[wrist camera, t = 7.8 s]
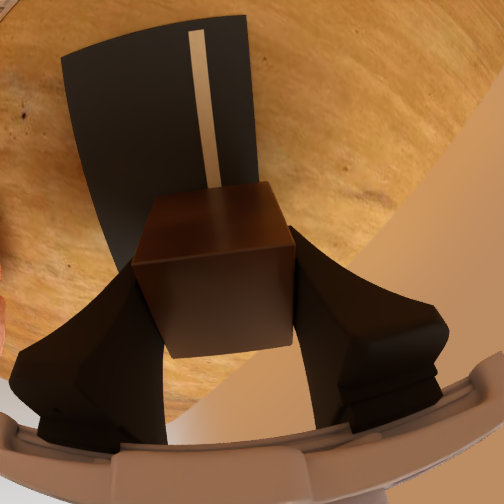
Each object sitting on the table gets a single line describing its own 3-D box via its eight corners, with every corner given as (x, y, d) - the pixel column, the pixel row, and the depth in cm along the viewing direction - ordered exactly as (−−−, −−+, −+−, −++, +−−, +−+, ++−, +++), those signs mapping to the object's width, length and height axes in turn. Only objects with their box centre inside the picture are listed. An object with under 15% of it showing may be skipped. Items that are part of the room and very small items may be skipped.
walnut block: (268, 180, 11) (296, 243, 8) (272, 270, 14) (292, 345, 10) (155, 195, 11) (129, 264, 7) (179, 281, 14) (171, 359, 10)
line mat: (62, 57, 8) (60, 57, 8) (245, 15, 9) (246, 14, 9) (121, 275, 15) (120, 278, 15) (263, 258, 16) (264, 260, 16)
